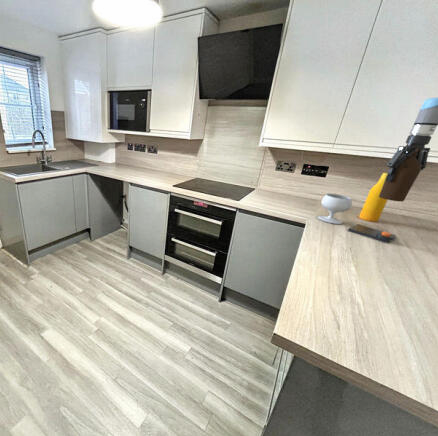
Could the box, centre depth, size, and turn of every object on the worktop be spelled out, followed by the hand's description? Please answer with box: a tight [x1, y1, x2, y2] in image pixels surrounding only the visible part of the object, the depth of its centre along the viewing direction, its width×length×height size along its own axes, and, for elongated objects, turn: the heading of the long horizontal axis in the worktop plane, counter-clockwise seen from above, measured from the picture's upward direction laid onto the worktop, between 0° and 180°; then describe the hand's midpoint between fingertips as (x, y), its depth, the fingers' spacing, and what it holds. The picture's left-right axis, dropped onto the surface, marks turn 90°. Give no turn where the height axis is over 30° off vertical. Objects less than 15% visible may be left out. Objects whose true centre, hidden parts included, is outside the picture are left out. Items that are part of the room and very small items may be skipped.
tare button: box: [382, 231, 392, 237], centre depth 117 cm, size 3×3×2 cm
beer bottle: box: [358, 172, 388, 223], centre depth 142 cm, size 9×9×29 cm
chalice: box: [317, 193, 353, 225], centre depth 139 cm, size 14×14×15 cm
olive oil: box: [379, 149, 422, 202], centre depth 116 cm, size 11×11×25 cm
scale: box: [347, 223, 396, 244], centre depth 124 cm, size 17×14×3 cm
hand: (398, 181), depth 117 cm, fingers closed on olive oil, 11 cm apart
